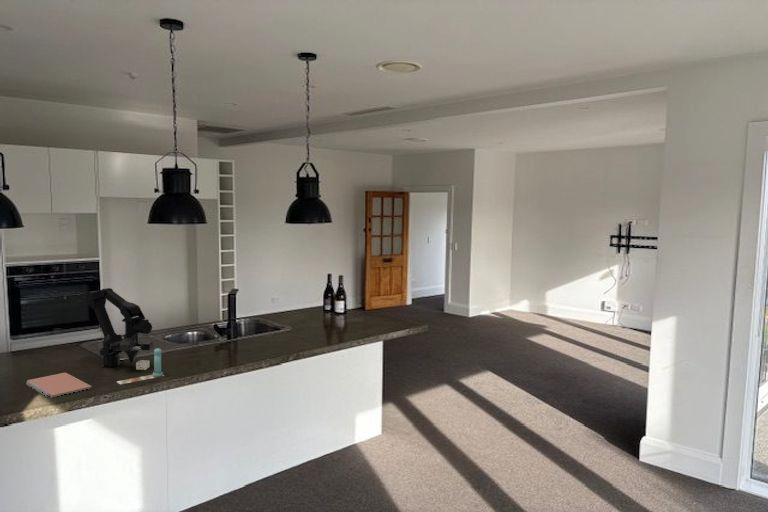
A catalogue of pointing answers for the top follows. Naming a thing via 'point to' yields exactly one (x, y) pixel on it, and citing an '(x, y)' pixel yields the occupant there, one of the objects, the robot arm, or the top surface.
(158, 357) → the pawn
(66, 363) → the top surface
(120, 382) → the board
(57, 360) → the top surface
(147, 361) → the die
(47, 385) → the notebook
